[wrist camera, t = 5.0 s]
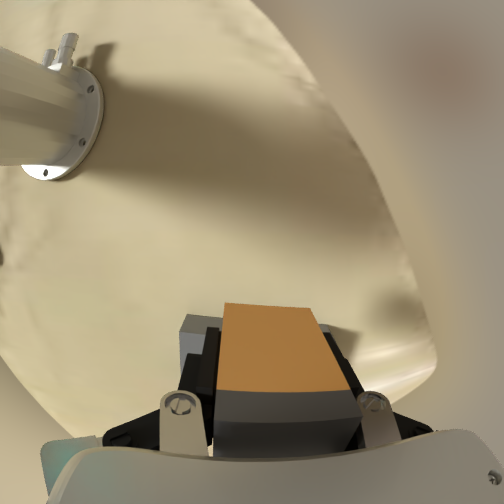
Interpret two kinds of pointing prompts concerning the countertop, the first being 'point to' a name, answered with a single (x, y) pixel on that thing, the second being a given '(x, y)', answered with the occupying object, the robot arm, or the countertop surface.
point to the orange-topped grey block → (279, 387)
